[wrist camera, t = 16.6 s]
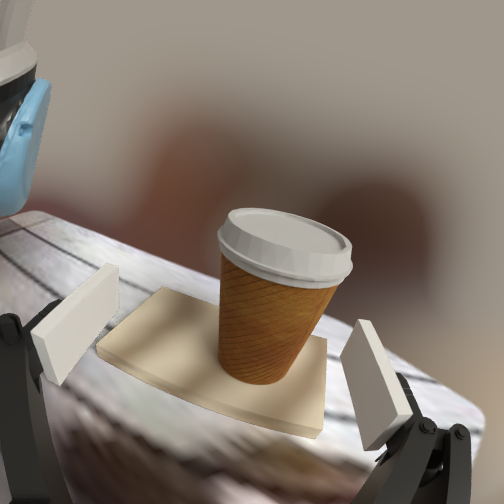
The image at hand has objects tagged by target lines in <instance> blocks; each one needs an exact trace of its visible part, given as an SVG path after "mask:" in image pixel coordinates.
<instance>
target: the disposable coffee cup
mask: <svg viewBox="0 0 504 504" xmlns="http://www.w3.org/2000/svg"><path fill="white" fill-rule="evenodd" d="M218 241H219V243H220V249H221V251H222V257H221V280H220V304H219V306H220V307H219V335H218V336H219V339H218V349H219V350H218V359H219V362H220V364H221V366H222V368H223V369H224V370H225V371H226V372H227V373H228V374H229V375H231V376H232V377H234V378H235V379H237V380H239V381H242V382H244V383H248V384H253V385H268V384H272V383H275V382H277V381H279V380H281V379H282V378H283V377H284V376H285V375H286V374H287V372H288V370H289V369H290V367H291V366H292V364H293V362H294V361H295V359H296V358H297V356H298V354H299V353H300V351H301V349H302V348H303V346H304V345H305V343H306V341H307V340H308V338H309V336H310V335H311V333H312V331H313V330H314V328H315V326H316V324H317V323H318V321H319V319H320V318H321V316H322V314H323V312H324V310H325V308H326V306H327V305H328V303H329V301H330V299H331V297H332V296H333V294H334V292H335V290H336V288H337V286H338V284H340V283H341V282H342V281H343V280H344V278H345V277H346V276H348V275H349V273H350V272H351V270H352V268H353V264H352V262H351V260H350V258H351V250H352V245H351V243H350V241H349V240H348V239H347V238H346V237H344V236H343V235H341V234H340V233H338V232H336V231H335V230H333V229H331V228H329V227H327V226H325V225H322V224H320V223H318V222H315V221H313V220H310V219H307V218H303V217H300V216H297V215H293V214H289V213H285V212H280V211H275V210H269V209H259V208H241V209H237V210H233V211H231V212H230V213H229V214H228V217H227V219H226V222H225V224H224V225H223V226H221V227H220V229H219V230H218Z"/></svg>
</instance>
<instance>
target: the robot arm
mask: <svg viewBox="0 0 504 504" xmlns="http://www.w3.org/2000/svg"><path fill="white" fill-rule="evenodd" d="M34 1H35V0H0V217H1V216H9V215H13V214H15V213H17V212H18V211H19V210H20V209H21V208H22V207H23V206H24V204H25V203H26V200H27V198H28V195H29V191H30V188H31V183H32V178H33V174H34V170H35V165H36V160H37V155H38V151H39V146H40V142H41V137H42V132H43V128H44V123H45V119H46V115H47V110H48V105H49V100H50V90H51V83H50V81H48V80H44V78H38V79H37V80H35V72H36V65H37V58H38V56H37V54H36V52H35V51H34V50H33V49H32V48H31V47H30V45H28V43H27V42H26V39H25V34H26V30H27V26H28V22H29V18H30V15H31V11H32V7H33V4H34ZM119 308H120V307H119V266H116V265H112V264H109V263H106V264H105V265H104V266H103V267H101V268H100V269H99V270H98V271H97V272H95V273H94V274H93V275H92V276H91V277H90V278H88V279H87V280H86V281H85V282H84V283H83V284H81V285H80V286H79V287H78V288H77V289H76V290H74V291H73V292H72V293H71V294H70V295H69V296H68V297H67V298H65V299H64V300H63V301H62V300H59V299H58V300H56V301H53V302H51V303H49V304H48V305H47V306H46V307H45V308H44V309H43V310H41V311H40V312H39V313H38V315H36V316H35V317H34V318H33V319H32V320H31V321H30V322H28V323H27V324H26V325H25V326H24V327H23V328H22V325H21V321H20V318H19V317H18V316H17V315H15V314H13V313H7V314H3V315H1V316H0V441H1V448H2V454H3V460H4V466H5V471H6V475H7V480H8V484H9V488H10V492H11V496H12V501H11V502H10V503H9V504H73V502H72V500H71V497H70V495H69V492H68V490H67V487H66V484H65V481H64V479H63V476H62V473H61V470H60V467H59V463H58V460H57V457H56V453H55V449H54V446H53V442H52V438H51V434H50V429H49V425H48V420H47V415H46V409H45V403H44V397H43V390H42V383H41V378H40V376H39V375H40V374H41V373H42V372H43V371H44V373H45V376H46V378H47V380H49V381H51V382H53V383H55V384H56V385H58V386H60V385H61V384H62V383H63V381H64V380H65V378H66V377H67V376H68V374H69V373H70V371H71V370H72V369H73V367H74V366H75V365H76V363H77V362H78V361H79V359H80V358H81V357H82V355H83V354H84V353H85V351H86V350H87V349H88V347H89V346H90V345H91V343H92V342H93V341H94V340H95V338H96V337H97V336H98V335H99V333H100V332H101V331H102V329H103V328H104V327H105V326H106V324H107V323H108V322H109V321H110V319H111V318H112V317H113V316H114V315H115V313H116V312H117V311H118V310H119ZM340 359H341V362H342V366H343V369H344V373H345V377H346V380H347V384H348V388H349V392H350V395H351V399H352V403H353V407H354V411H355V415H356V419H357V423H358V427H359V432H360V436H361V440H362V445H363V449H364V451H374V450H379V449H380V448H381V447H382V446H383V445H384V444H385V443H386V446H387V450H386V451H385V452H384V453H383V454H381V455H380V456H379V457H378V458H377V459H376V460H375V462H377V461H378V460H379V459H380V460H379V462H378V463H377V465H376V467H375V468H374V470H373V471H372V473H371V474H370V476H369V478H368V479H367V481H366V482H365V484H364V485H363V487H362V488H361V490H360V491H359V492H358V494H357V495H356V497H355V498H354V499H353V501H352V502H351V503H350V504H470V496H471V437H470V433H469V431H468V429H467V428H466V427H465V426H464V425H462V424H454V425H453V426H452V427H451V428H450V429H449V430H444V429H439V428H437V425H436V424H435V423H434V421H432V420H431V419H429V418H427V417H423V416H422V413H421V411H420V409H419V407H418V404H417V402H416V400H415V398H414V396H413V393H412V391H411V389H410V387H409V384H408V382H407V380H406V379H405V378H404V377H403V376H402V375H401V373H395V371H394V369H393V367H392V365H391V363H390V360H389V358H388V356H387V354H386V352H385V350H384V348H383V346H382V344H381V342H380V340H379V338H378V335H377V333H376V331H375V329H374V328H373V326H372V324H371V322H370V321H367V320H361V319H358V321H357V323H356V325H355V327H354V329H353V331H352V333H351V335H350V337H349V339H348V341H347V343H346V345H345V347H344V349H343V351H342V353H341V355H340ZM442 465H443V468H442Z"/></svg>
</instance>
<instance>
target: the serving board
mask: <svg viewBox="0 0 504 504" xmlns="http://www.w3.org/2000/svg"><path fill="white" fill-rule="evenodd" d="M218 335H219V306H216V305H213V304H210V303H208V302H205V301H202V300H199V299H196V298H193V297H191V296H188V295H185V294H182V293H179V292H177V291H174V290H171V289H169V288H166V287H163V286H162V287H161V288H160V289H159V290H158V291H157V292H155V293H154V294H153V295H152V296H151V297H149V298H148V299H147V300H146V301H145V302H144V303H142V304H141V305H140V306H139V307H138V308H137V309H135V310H134V311H133V312H132V313H131V314H130V315H128V316H127V317H126V318H125V319H124V320H123V321H122V322H120V323H119V324H118V325H117V326H116V327H115V328H113V329H112V330H111V331H110V332H109V333H108V334H107V335H106V336H104V337H103V338H102V339H101V340H100V341H99V342H98V343H97V344H96V348H97V354H98V357H100V358H101V359H103V360H105V361H106V362H108V363H110V364H112V365H113V366H115V367H117V368H119V369H121V370H123V371H124V372H126V373H128V374H130V375H132V376H134V377H136V378H138V379H140V380H142V381H144V382H146V383H148V384H150V385H152V386H154V387H156V388H159V389H161V390H163V391H165V392H167V393H170V394H172V395H174V396H176V397H179V398H181V399H184V400H186V401H188V402H191V403H193V404H196V405H198V406H201V407H204V408H206V409H209V410H212V411H214V412H217V413H220V414H223V415H226V416H229V417H232V418H235V419H238V420H241V421H244V422H248V423H251V424H254V425H258V426H261V427H265V428H268V429H272V430H276V431H280V432H284V433H288V434H293V435H297V436H302V437H306V438H311V439H316V437H317V436H318V435H319V434H320V432H321V431H322V430H323V417H324V403H325V385H326V361H327V339H325V338H321V337H318V336H314V335H310V336H309V338H308V340H307V341H306V343H305V345H304V346H303V348H302V349H301V351H300V353H299V354H298V356H297V358H296V359H295V361H294V362H293V364H292V366H291V367H290V369H289V370H288V372H287V374H286V375H285V376H284V377H283V378H282V379H281V380H279V381H277V382H275V383H272V384H268V385H253V384H248V383H244V382H242V381H239V380H237V379H235V378H234V377H232V376H231V375H229V374H228V373H227V372H226V371H225V370H224V369H223V368H222V366H221V364H220V362H219V359H218V350H219V349H218V339H219V336H218Z"/></svg>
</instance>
